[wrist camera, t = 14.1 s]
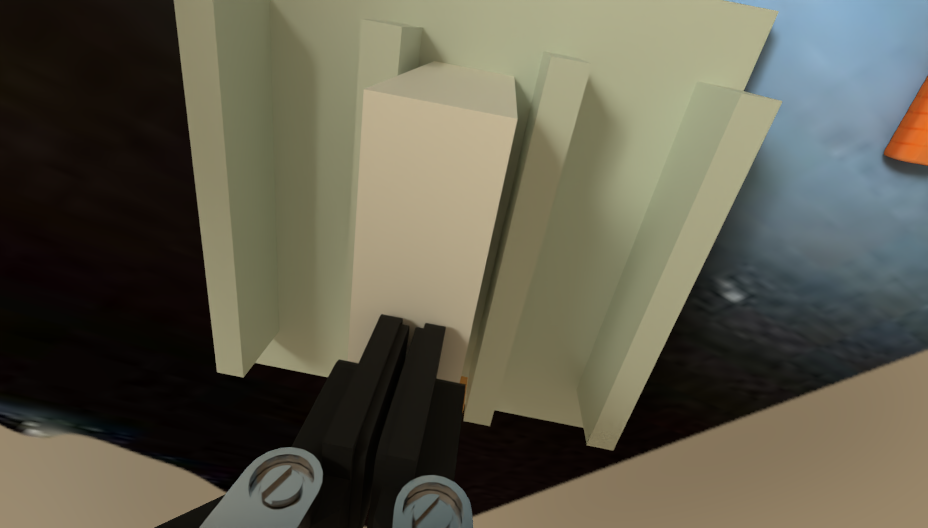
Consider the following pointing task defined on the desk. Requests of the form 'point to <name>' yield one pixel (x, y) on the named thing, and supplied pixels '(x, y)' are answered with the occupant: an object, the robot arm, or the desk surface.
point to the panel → (429, 201)
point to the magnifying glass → (912, 132)
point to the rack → (524, 189)
